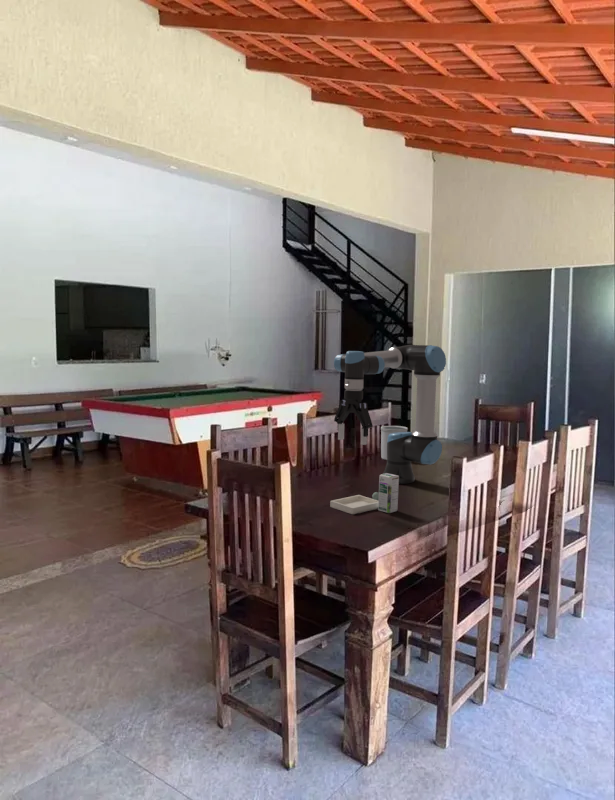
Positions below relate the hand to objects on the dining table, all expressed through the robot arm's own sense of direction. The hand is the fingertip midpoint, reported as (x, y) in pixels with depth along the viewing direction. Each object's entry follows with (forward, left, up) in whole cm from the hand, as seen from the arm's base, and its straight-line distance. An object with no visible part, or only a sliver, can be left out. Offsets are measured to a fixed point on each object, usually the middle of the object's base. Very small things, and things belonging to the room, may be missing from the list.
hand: (352, 442), depth 253 cm
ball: (-13, +2, -24) cm, 28 cm away
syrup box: (-6, +15, -26) cm, 31 cm away
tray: (+1, +4, -26) cm, 26 cm away
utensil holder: (-85, -54, -26) cm, 104 cm away
